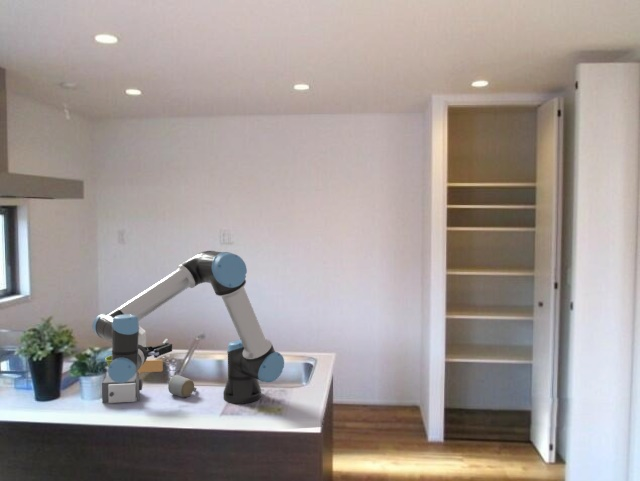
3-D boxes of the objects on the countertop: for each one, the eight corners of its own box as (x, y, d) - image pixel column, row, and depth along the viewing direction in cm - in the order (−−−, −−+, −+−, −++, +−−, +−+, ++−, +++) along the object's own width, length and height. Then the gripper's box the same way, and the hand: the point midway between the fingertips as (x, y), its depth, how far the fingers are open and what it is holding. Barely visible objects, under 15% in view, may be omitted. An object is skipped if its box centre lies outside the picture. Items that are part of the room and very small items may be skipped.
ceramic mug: (182, 400, 199) (182, 381, 199) (167, 396, 203) (167, 377, 203) (201, 392, 208) (201, 374, 208) (186, 388, 212) (187, 370, 212)
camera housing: (143, 391, 208) (143, 371, 207) (138, 401, 198) (138, 379, 197) (108, 393, 206) (108, 372, 205) (102, 402, 196) (101, 380, 195)
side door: (163, 399, 199) (162, 359, 198) (162, 401, 197) (161, 360, 196) (109, 401, 196) (108, 361, 195) (107, 403, 194) (107, 363, 193)
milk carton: (146, 360, 250) (145, 323, 249) (142, 365, 243) (141, 326, 242) (131, 360, 250) (131, 323, 249) (127, 365, 243) (126, 326, 242)
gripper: (92, 369, 163) (112, 352, 184) (172, 369, 166) (182, 352, 187) (93, 346, 163) (112, 332, 184) (172, 346, 165) (182, 332, 186)
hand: (147, 342), depth 185 cm, fingers open, 13 cm apart
